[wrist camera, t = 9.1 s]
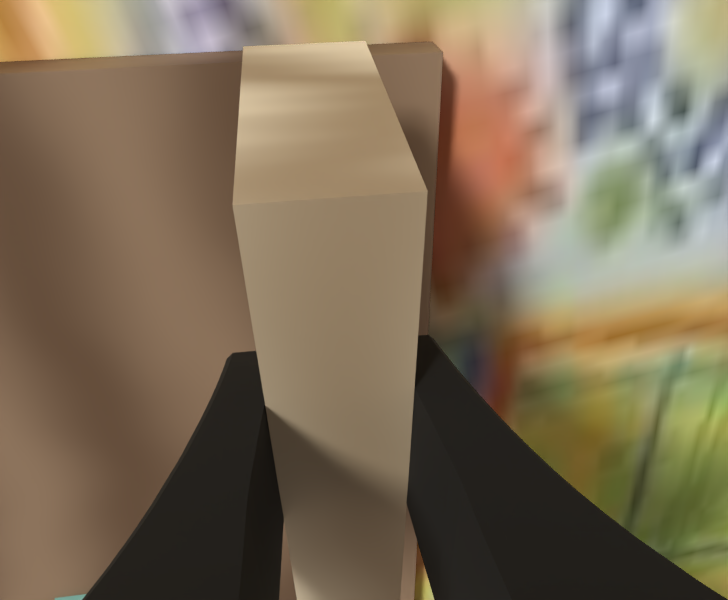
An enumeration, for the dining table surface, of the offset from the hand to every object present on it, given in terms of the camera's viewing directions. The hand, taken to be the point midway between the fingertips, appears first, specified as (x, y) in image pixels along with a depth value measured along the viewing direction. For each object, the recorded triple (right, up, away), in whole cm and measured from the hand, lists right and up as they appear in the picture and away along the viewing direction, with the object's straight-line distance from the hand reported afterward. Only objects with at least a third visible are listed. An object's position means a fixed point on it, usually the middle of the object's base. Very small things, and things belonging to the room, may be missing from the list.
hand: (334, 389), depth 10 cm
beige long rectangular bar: (0, +2, +3) cm, 4 cm away
